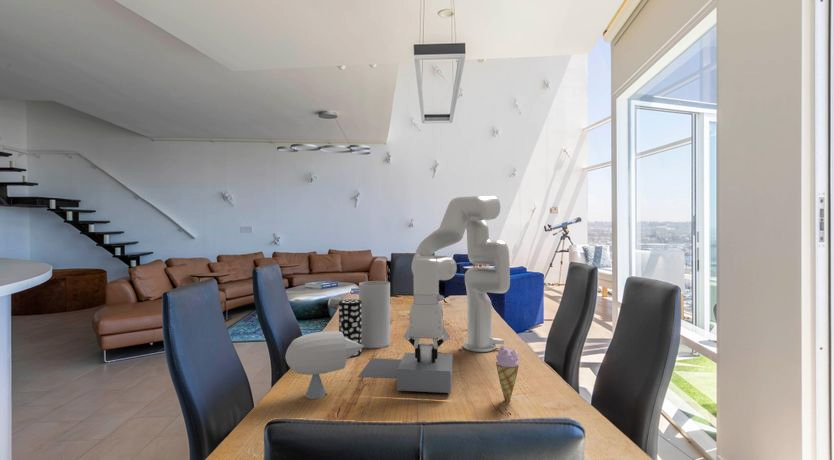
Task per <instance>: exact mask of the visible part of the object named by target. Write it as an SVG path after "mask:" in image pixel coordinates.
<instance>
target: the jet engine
mask: <svg viewBox="0 0 834 460" xmlns="http://www.w3.org/2000/svg"><path fill="white" fill-rule="evenodd" d="M363 348H364V346H363V345H361V344H359V343H356V342H354V341H352V340H350V339H347V338H345V337H344V335H343V333H342V332H340V331H339V330H337V331H335V330H334V331H317V332H312V333H311V332H310V333H307V334H303V335H301V336H299V337H297V338H294V339H293V340H292V341H291V343H290V344H289V346H288V348H287V349H286V353H285V362H286V364H287V366H288V367H289V368H290V369H291V370H292V371H293V372H294V373H297V374H300V375H309V376H311V379H310V381H309V385H308V387H307V390H306V394H305V395H306V399H307V398H308V399H311V400H315V399H321V398H323V397H325V396H327V393H326V390H325V387H324V384H323V382H322V379H321V375H322V374H324V375H325V374H329V373H332V372H336V371H340V370H344V369H345V367H346V364H347V360H348V359H349V357H351V356H352V355H354V354H355V353H356V352H358V351H359V350H360V349H362V350H363Z"/></svg>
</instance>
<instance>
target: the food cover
mask: <svg viewBox="0 0 834 460" xmlns="http://www.w3.org/2000/svg"><path fill="white" fill-rule="evenodd" d="M419 344H420V362H417V358H415V352H404V354H403V356H402V360H401V362H400V364H399V366H398V368H397V380H396V390H397V391H400V392H401V391H404V392H405V391H406V392H422V393H423V392H427V393H443V394H446V393H448V394H451V393H452V381H453V367H454V366H453V353H438V358H437V359H435V363H433V362H432V349H433V342H421V343H419Z"/></svg>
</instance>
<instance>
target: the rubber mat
mask: <svg viewBox="0 0 834 460" xmlns="http://www.w3.org/2000/svg"><path fill="white" fill-rule="evenodd" d="M401 360H402V359H397V358H373V357H372V358H370V360H369V361H368V362H367V364H366V365H365V367H364V368H362V371H361V372H360V373H359V374H358V376H357V377H358V378H375V379H376V378H377V379H380V378H381V379H397V368H398V366H399V364H400V362H401Z"/></svg>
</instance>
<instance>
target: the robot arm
mask: <svg viewBox="0 0 834 460" xmlns="http://www.w3.org/2000/svg"><path fill="white" fill-rule="evenodd" d="M500 213H501V202H500V200H499V198H498V197H496V196H495V195H476V196H458V197H457V196H456V197H455V198H452V199H451V200H450V201H449V203H448V206H447V208H446V209H445V213H444V215H443V218H442V220H441V222H440V225H439V227H438V228H437V229H436V230H434V231H433V232H432V233H430V234H429V235H427V236H426V237H425V238H424V239H423V240H422V241H421V242H420V243H419V244H418V246H417V249H416V250H415V253H414V255H413V258H412V261H411V273H412V275H413V302H412V303H411V305H410V311H409V318H408V320H409V321H408V328H407V329H406V331H405V333H404V334H403V335H402V337H403V339H405V340H406V341H408V342H409V343H410V344H411V345H412V346H413V348H414V353H415V358H417V362H420V344H421V343H420V342H421V341H420V340H421V339H432V344H433V349H432V362H433V363H435V359H437V358H438V354H439V351H438V348H439V347H440V346H441V345H442V344H443V343H445V342H447V341H448V340H450V335H449V333H448V332H447V330H446V329H445V327H444V311H443V305H442V303H441V301H444V299H445V298H444V297H445V296H444V295H442V294H440V292H439V291H440V287H439V286H440V285H439V284H440V281H448V280H451V279H452V278H453V277H454V276H455V275H456V273H457V270H458V268H457V262H456V260H455V259H454V258H453V257H451V256H447V255H433V254H435V253H436V252H438V251H439V250H442V249H444V248H446V247H451V246H452V245H455V244H456V243H458V242H460V241H462V239H463V237H464V234H465V231H466V245H467V247H466V249H467V258H468V260H469V262H470V263H471V264H475V265H489V266H494V267H483V266H482V267H481V266H480V267H479V266H477V267H476V266H474V267H471V268H468V269H467V270H466V271H465V274H464V285H465V289H466V299H467V301H466V303H467V304H466V305H467V307H466V311H467V312H466V314H467V316H466V317H467V318H466V319H467V320H466V322H467V325H466V326H467V331H466V335H467V337H466V338H467V339H466V341H465V342H464V343H463V347H462V348H464V349H465V350H467V351H470V352H477V353H487V352H492V351H494V350H495V349H496V348H497V347H496V346H497V345H504V344H505V343H504V342H505V341H504V339H502V338H498V337H496V338H495V337H493V334H492V333H493V332H492V330H493V327H492V325H493V323H492V319H493V317H492V316H493V315H492V313H493V312H492V309H493V308H492V307H493V305H492V299H490V297H489V295H488V294H487V293H492V294H505V293H507V292H508V291H510V290H509V289H510V286H511V273H510V272H511V271H510V270H511V268H510V251H509V249H510V248H509V246H508V244H507V242H505V241H503V240H500V239H499V240H498V239H494V240H493V239H490V233H489V231H490V229H489V226H488V223H487V222H486V221H490V220H495V219H497V217H499V215H500Z"/></svg>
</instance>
